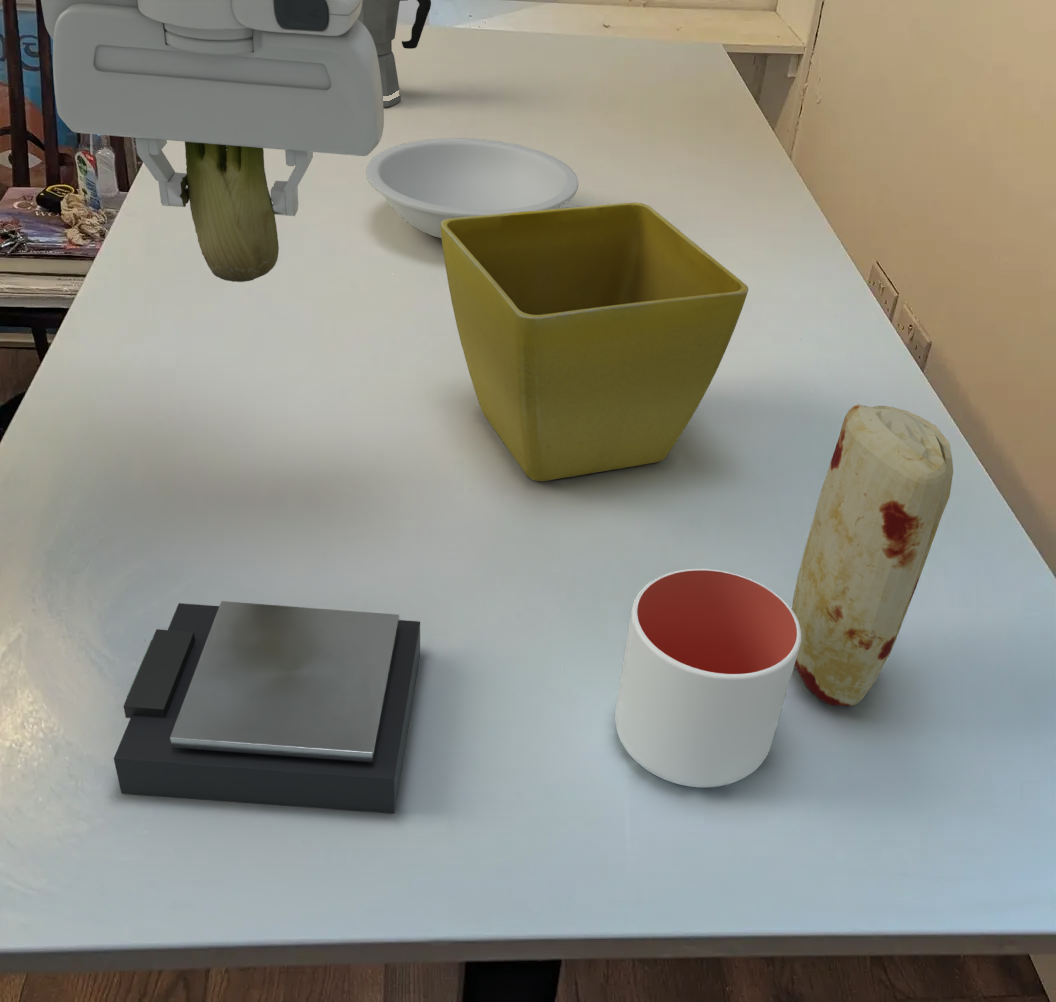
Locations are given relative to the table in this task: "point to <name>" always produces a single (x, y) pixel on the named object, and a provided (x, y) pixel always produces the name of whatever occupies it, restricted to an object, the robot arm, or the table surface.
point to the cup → (705, 676)
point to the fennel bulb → (232, 210)
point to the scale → (249, 776)
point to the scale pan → (290, 683)
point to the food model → (868, 547)
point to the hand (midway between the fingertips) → (231, 208)
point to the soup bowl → (467, 180)
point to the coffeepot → (390, 37)
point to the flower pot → (587, 331)
